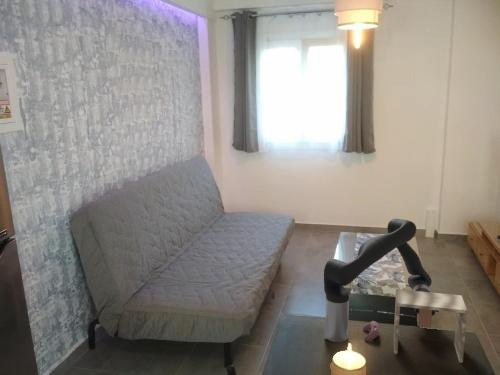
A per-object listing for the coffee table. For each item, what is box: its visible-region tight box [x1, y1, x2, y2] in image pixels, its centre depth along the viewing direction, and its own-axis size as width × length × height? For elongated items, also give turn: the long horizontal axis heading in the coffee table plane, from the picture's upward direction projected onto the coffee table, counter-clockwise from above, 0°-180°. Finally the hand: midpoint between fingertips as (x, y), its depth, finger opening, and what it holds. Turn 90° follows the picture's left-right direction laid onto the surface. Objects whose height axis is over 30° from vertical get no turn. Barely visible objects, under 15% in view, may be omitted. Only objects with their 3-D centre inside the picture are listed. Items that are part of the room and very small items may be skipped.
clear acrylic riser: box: [393, 288, 468, 364], centre depth 176 cm, size 24×13×21 cm, turn 74°
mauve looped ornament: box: [362, 320, 380, 342], centre depth 188 cm, size 10×5×7 cm, turn 170°
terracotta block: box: [416, 308, 433, 329], centre depth 188 cm, size 5×5×10 cm
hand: (425, 312), depth 185 cm, fingers closed on terracotta block, 5 cm apart
